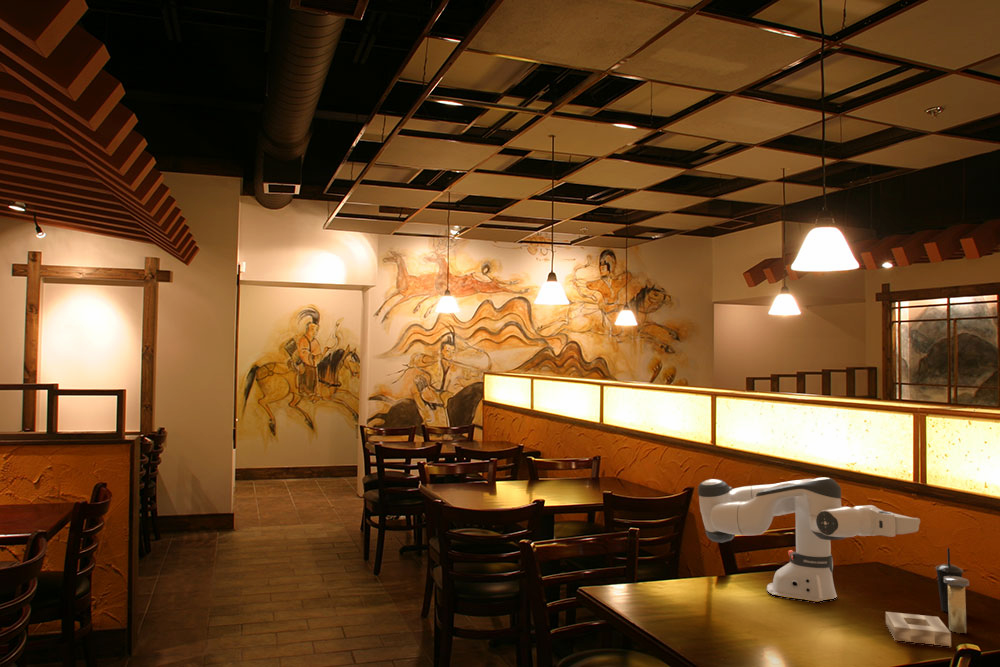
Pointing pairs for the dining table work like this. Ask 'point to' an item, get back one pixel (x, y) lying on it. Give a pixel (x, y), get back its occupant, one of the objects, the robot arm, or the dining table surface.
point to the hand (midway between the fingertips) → (905, 517)
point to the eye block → (918, 629)
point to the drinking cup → (943, 587)
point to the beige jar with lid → (956, 603)
